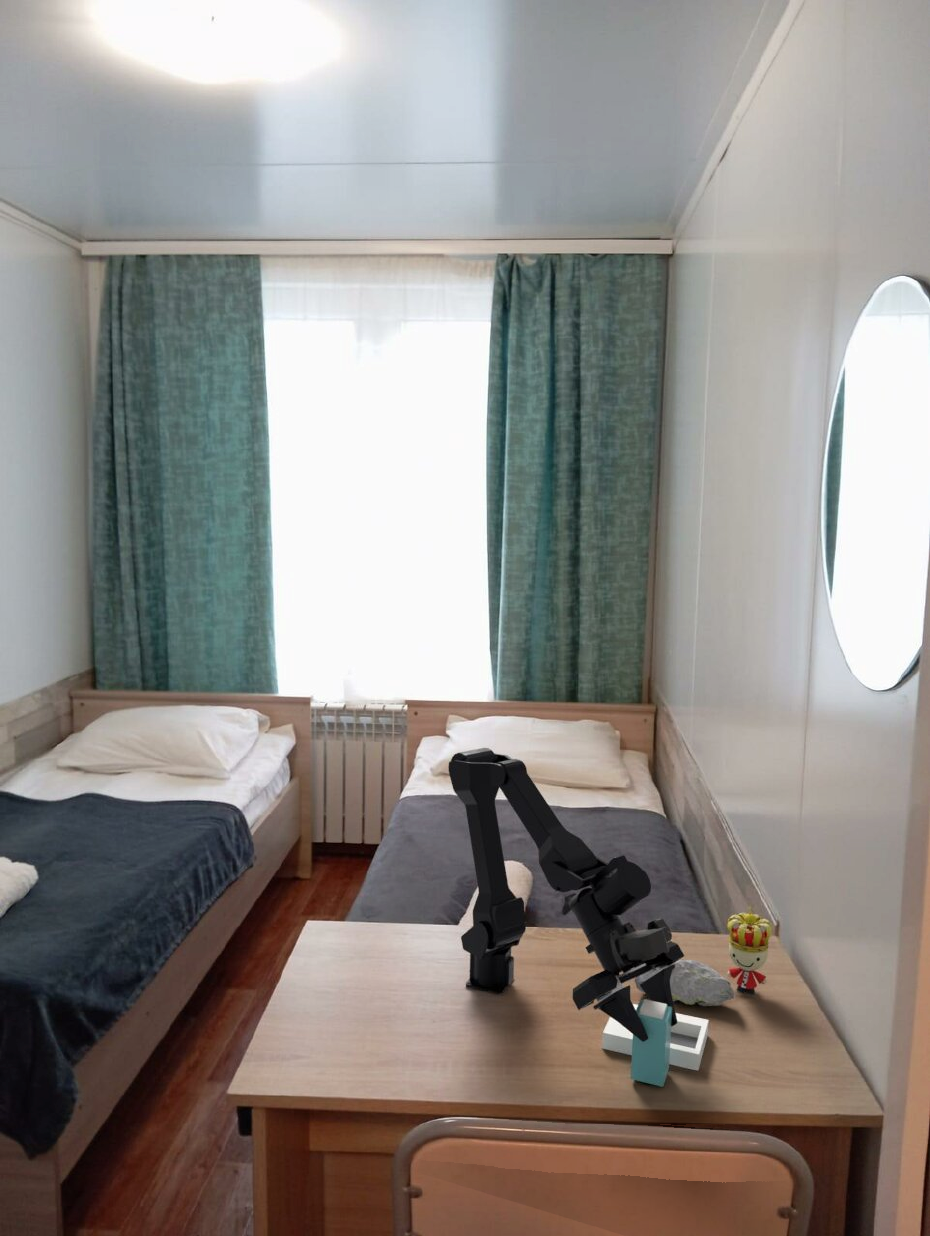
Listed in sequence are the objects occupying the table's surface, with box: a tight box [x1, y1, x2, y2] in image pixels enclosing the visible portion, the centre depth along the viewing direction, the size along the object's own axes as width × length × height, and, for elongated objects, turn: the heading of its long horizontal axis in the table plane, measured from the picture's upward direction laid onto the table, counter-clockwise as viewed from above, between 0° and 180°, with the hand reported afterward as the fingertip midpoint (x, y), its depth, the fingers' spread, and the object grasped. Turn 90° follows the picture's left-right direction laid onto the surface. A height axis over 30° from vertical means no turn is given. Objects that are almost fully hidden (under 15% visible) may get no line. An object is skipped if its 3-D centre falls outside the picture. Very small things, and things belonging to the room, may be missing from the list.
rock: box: [634, 959, 735, 1007], centre depth 156 cm, size 16×7×7 cm, turn 64°
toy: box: [726, 904, 773, 996], centre depth 158 cm, size 7×7×15 cm
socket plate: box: [601, 1003, 709, 1072], centre depth 143 cm, size 14×10×3 cm
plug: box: [630, 998, 672, 1087], centre depth 133 cm, size 4×4×10 cm
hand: (660, 1032), depth 132 cm, fingers closed on plug, 6 cm apart
